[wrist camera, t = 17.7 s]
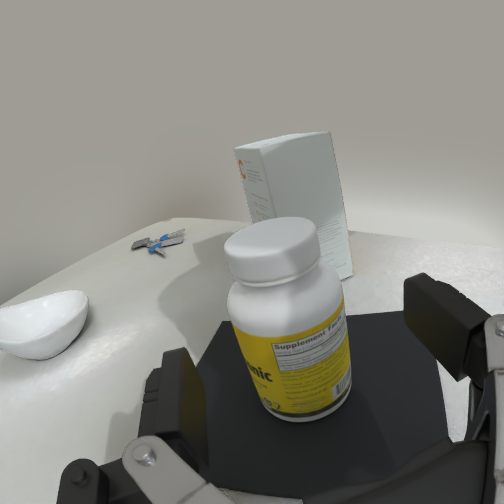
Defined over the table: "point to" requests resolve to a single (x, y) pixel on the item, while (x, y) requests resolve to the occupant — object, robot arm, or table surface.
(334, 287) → the supplement bottle
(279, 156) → the small box
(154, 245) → the key chain
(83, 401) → the table surface
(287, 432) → the mat
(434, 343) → the robot arm
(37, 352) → the spoon rest
